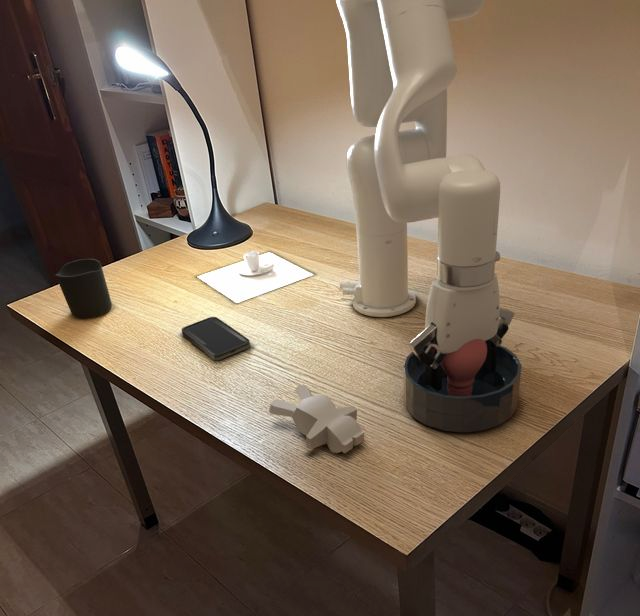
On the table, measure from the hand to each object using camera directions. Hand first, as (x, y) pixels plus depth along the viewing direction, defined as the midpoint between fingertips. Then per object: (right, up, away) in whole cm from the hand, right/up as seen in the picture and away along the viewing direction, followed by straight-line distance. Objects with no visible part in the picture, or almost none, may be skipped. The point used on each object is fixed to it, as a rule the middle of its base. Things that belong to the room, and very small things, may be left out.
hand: (460, 376), depth 95 cm
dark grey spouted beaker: (-71, +18, +43) cm, 85 cm away
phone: (-41, +9, +26) cm, 50 cm away
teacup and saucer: (-36, +27, +50) cm, 68 cm away
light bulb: (0, -3, +2) cm, 4 cm away
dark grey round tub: (0, -4, +3) cm, 5 cm away
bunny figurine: (-21, -9, 0) cm, 23 cm away
